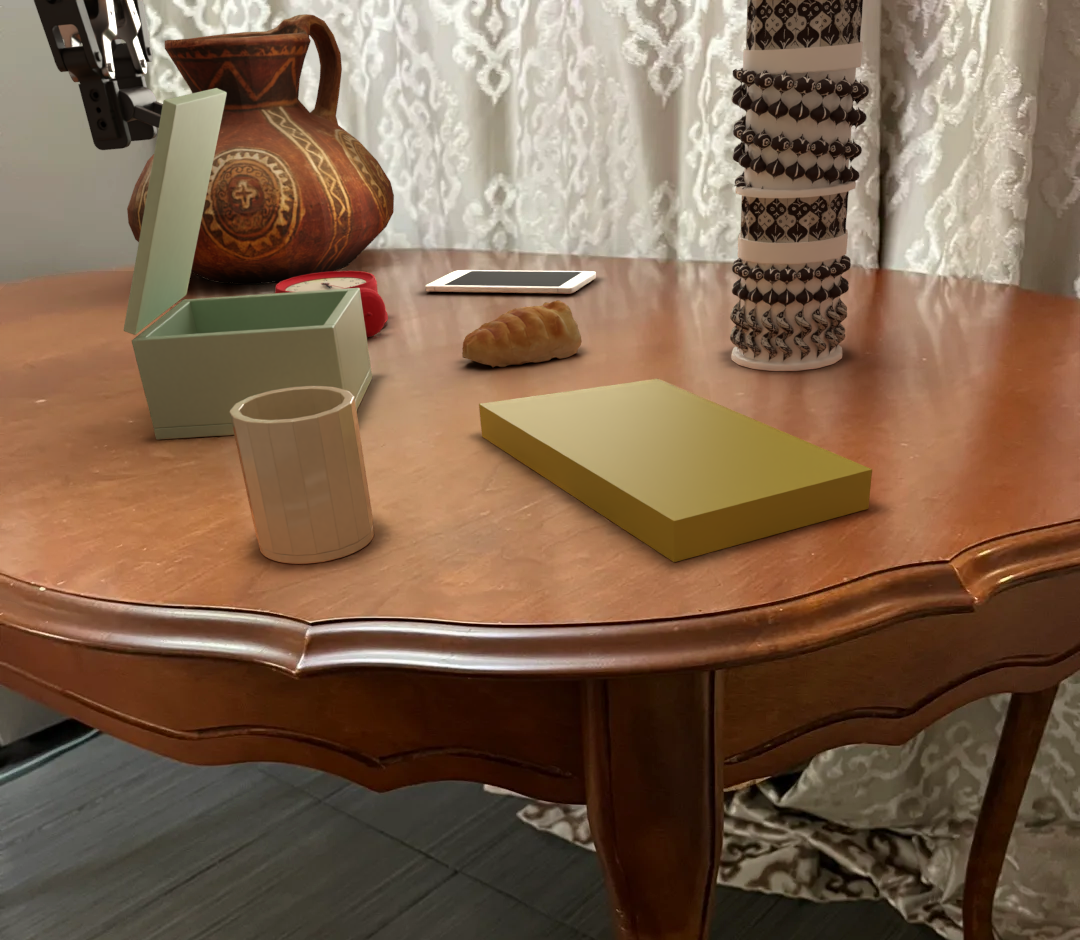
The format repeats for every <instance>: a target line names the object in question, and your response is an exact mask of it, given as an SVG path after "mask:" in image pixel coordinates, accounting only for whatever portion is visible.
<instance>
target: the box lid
mask: <svg viewBox="0 0 1080 940" xmlns="http://www.w3.org/2000/svg"><path fill="white" fill-rule="evenodd" d="M119 92H120V96H121V100H122V104H123V108H124V113H125V117H126V121H127V122H129V121H133V120H140V121H142V122H145V123H147V124H150V125H152V126H155V127H156V128H157V135H156V142H155V146H154V147H155V148H154V152H153V154H154V158H153V164H152V169H151V175H150V181H149V187H148V192H147V198H146V204H145V210H144V215H143V221H142V227H141V233H140V238H139V242H138V244H137V251H136V255H135V262H134V266H133V273H132V280H131V284H130V291H129V297H128V303H127V308H126V312H125V313H126V314H125V319H124V325H123V332H125V333H128V334H130V335H133V336H137V334H139V333H141V331H142V330H144V329H146V327H147V326H148V325H150V324H152V323H153V322H154V321H155V320H156V319H158V318H160V316H161V315H163V314H165V313H166V311H169V309H170V308H172V307H173V306H175V305H176V304H178V303H179V301H181V300H183V299H184V297H185V296H187V294H188V289H189V284H190V280H191V279H190V278H191V274H192V272H191V269H192V264H193V259H194V254H195V249H196V244H197V239H198V234H199V229H200V224H201V219H202V214H203V209H204V204H205V199H206V194H207V189H208V184H209V179H210V174H211V169H212V164H213V159H214V155H215V150H216V145H217V140H218V135H219V130H220V125H221V120H222V115H223V110H224V105H225V100H226V95H227V93H226V92H225V91H222V90H220V89H217V88H214V89H210V90H205V91H201V92H197V93H192V92H191V93H188V94H184V95H179V96H175V97H170V98H166V99H163V100H162V102H159V101H157V97H156V95H155V94H154V92H153V91H152V90H151V89H150V88H148V87H147V88H146V87H144V86H138V87H132V88H126V89H121V90H119ZM177 302H178V303H177Z"/></svg>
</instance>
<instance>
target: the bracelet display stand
mask: <svg viewBox="0 0 1080 940" xmlns="http://www.w3.org/2000/svg"><path fill="white" fill-rule="evenodd" d="M863 5H864V0H746V31H745V32H746V36H745V49H743V50H742V52H743V53H742V55H743V56H742V67H741V68H740V69H738V68H735V69H732V77H733V78H734V79H735V80H736V81H738V82H740V85H739V86H737V87H736V88H735V89H734V90H733V92H732V95H731V102H732V104H734V105H735V106H737V107H739V109H740V111H741V110H743V111H744V112H745V115H744V114H742V115H741V118H739V119H738V120H737V121H735V123H734V124H733V130H732V134H733V136H734V138H735V139H738V140H739V141H740V142H739V143H738V144H737V145H736V146H735V147H734V148H733V154H732V160H733V161H734V162H736V163H738V165H740V166H741V168H744V170H743V171H742V173H741V174H740V175H738V176H737V177H736V178H735V179H734V185H733V187H735V194H736V195H739V196H741V201H740V203H741V207H740V232H739V234H738V236H737V259H735V260H734V261H733V263H732V267H731V271H732V273H733V274H734V275H737V276H739V279H738V280H735V282H733V284H732V288H731V294H732V295H733V296H735V297H737V298H738V301H737V303H736V304H735V305H734V306H732V309H731V312H730V320H731V321H732V323H733V324H734V327H733V328H732V329H731V332H730V334H729V340H730V341H731V343H732V344H733V345H734V347H733V348H732V350H731V355H730V360H731V361H733V363H735V364H736V365H738V366H742V367H745V368H749V369H753V370H759V371H770V372H799V371H807V370H815V369H820V368H824V367H827V366H831V365H834V364H836V363H838V361H840V360H841V359H843V347H842V346H841V345H839V344H840V343H842V342H843V341H844V340H845V339H846V327H845V326H844V325H843V324H842V322H843V321H844V320H846V319H847V318H848V306H847V305H846V304H845V303H844V302H843V301H842V299H841V297H842V295H843V294H846V293H847V292H848V291H849V290H850V289H849V288H850V285H849V281H848V279H846V278H845V277H843V276H842V275H843V274H845V273H846V272H847V271H849V270H850V269H851V266H852V264H851V258H850V257H849V256H847V253H848V252H847V250H848V237H849V231H848V229H847V217H848V205H849V193H850V191H853V190H855V189H856V185H857V183H856V181H858V180H859V178H860V172H859V171H858V170H856V168H854V167H853V166H852V163H853V160H855V159H856V158H857V157H859V156H860V155H861V154H862V153H863V148H862V146H861V145H860V144H859V143H856V141H855V139H854V138H853V139H852V138H851V137H852V129H853V127H854V128H855V129H854V131H857V128H858V127H859V126H861V125H862V124H864V123H865V122H866V121H867V118H868V117H867V114H866V113H865V112H864V111H863V110H861V109H860V108H859V106H857V108H856V109H855V107H854V102H855V104H856V105H858V104H859V103H860V102H861V101H862V100H864V99H865V98H866V97H868V95H869V93H870V89H869V87H868V86H867V85H865V84H864V83H862V80H861V78H859V79H860V80H859V81H858V80H857V78H856V73H857V68H861V66H862V56H863V41H862V40H861V32H862V23H863Z"/></svg>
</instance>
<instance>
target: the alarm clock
mask: <svg viewBox="0 0 1080 940" xmlns="http://www.w3.org/2000/svg"><path fill="white" fill-rule="evenodd" d="M348 288H360V294H361V301H362V308H363V315H364V322H365V329H366V336H367V339H368V338H372V337H374V336H375V335H378V334H379V333H380V332H381V331H382V329H383V328H384V326H385V325H386V322H388V320H389V316H388V312H387V309H386V304H385V301H384V300H383V298H382V296H381V295H380V294H379V291H378V281H377V279H376V277H375V274H373V273H370V272H368V271H367V272H366V271H361V270H360V271H359V270H336V271H331V272H320V273H313V274H307V275H302V276H297V277H293V278H289V279H286V280H283V281H281V282H277V283H276V284H275V289H274V293H289V292H304V291H318V290H333V289H348Z"/></svg>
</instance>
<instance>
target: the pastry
mask: <svg viewBox="0 0 1080 940" xmlns="http://www.w3.org/2000/svg"><path fill="white" fill-rule="evenodd" d="M582 342H583V340H582V334H581V332H580V329H579V325H578V323H577V321H576V319H574V316H573V312H572V310H571V308H570V307H569V305H567V304H566V303H565V302H563V301H561V300H559V299H557V300H552V301H551V302H544V303H543V304H542V305H533V306H532V305H531V306H521V307H520V306H519V307H516V308H513V309H511V310H508V311H507V312H505V313H502V314H500V315H499V316H498V317H497V318H495V319H493V320H490V321H489V322H485V323H482V324H481V325H480V326H479V327H478V328H476V329H475V330H473V331H472V332H469V333H468V334H467V335H466V336H465V337H464V340H463V342H462V348H461V349H462V352H461V354H462V355H461V356H462V358H463V359H467V360H470V361H472V362H476V363H478V364H481V365H486V366H491V367H492V368H494V367H499V368H506V367H507V366H511V365H518V366H521V365H523V364H526V363H527V364H528V363H541V362H548V361H550V360H551V359H554V358H557V359H560V360H561V359H565V358H566V359H567V358H569V357H571V356H574V355H575V354H577V353H578V349H579V348H580V347H581V345H582Z"/></svg>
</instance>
